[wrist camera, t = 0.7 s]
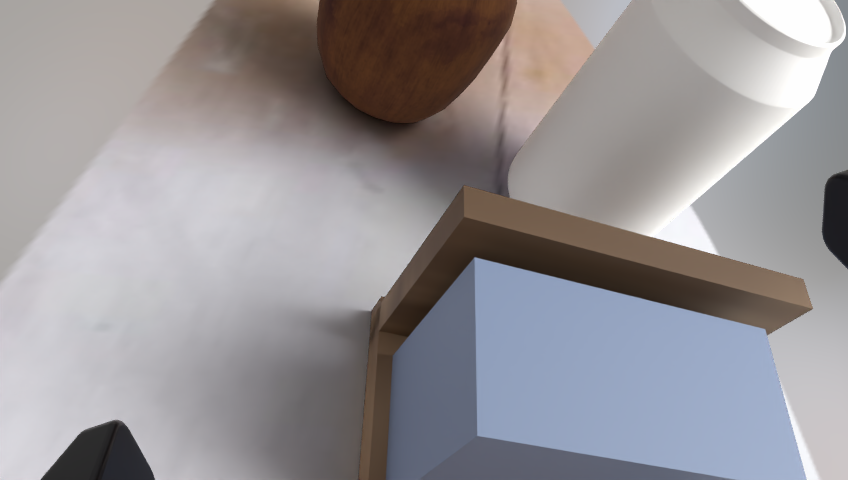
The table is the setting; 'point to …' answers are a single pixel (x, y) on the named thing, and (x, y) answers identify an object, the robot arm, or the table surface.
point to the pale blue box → (582, 388)
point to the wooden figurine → (408, 51)
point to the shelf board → (566, 259)
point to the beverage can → (673, 106)
